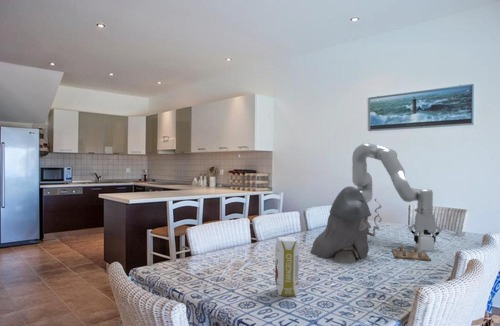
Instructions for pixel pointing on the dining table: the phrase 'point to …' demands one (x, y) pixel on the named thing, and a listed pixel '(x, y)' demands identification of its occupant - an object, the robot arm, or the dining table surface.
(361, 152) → the robot arm
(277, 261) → the juice carton
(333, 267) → the dining table surface
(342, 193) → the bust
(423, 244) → the white capped block
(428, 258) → the wooden peg board
